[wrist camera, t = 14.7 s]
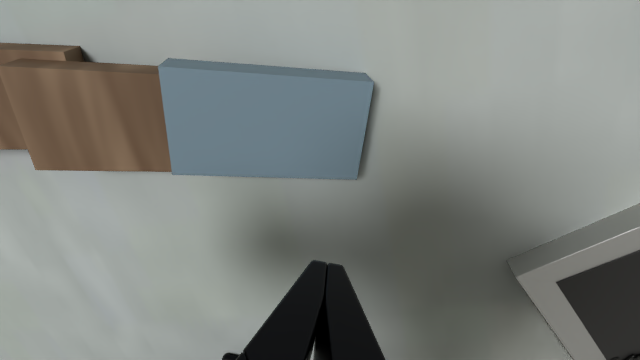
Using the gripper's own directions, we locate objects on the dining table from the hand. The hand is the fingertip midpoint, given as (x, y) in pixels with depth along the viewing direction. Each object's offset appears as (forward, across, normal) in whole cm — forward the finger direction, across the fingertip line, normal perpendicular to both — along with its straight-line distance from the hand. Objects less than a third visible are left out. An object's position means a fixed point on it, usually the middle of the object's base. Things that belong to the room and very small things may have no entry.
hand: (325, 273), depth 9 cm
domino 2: (+10, +6, 0) cm, 11 cm away
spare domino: (+9, -1, -1) cm, 9 cm away
